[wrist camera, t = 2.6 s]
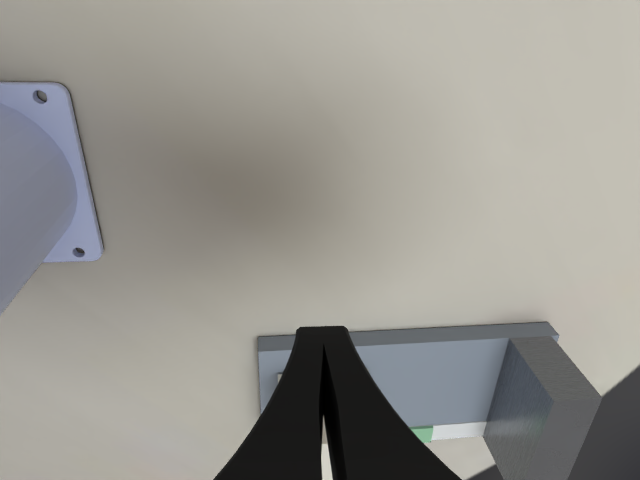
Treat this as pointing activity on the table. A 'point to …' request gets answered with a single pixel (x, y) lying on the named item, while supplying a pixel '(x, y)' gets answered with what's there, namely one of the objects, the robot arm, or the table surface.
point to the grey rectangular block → (538, 411)
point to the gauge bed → (423, 372)
